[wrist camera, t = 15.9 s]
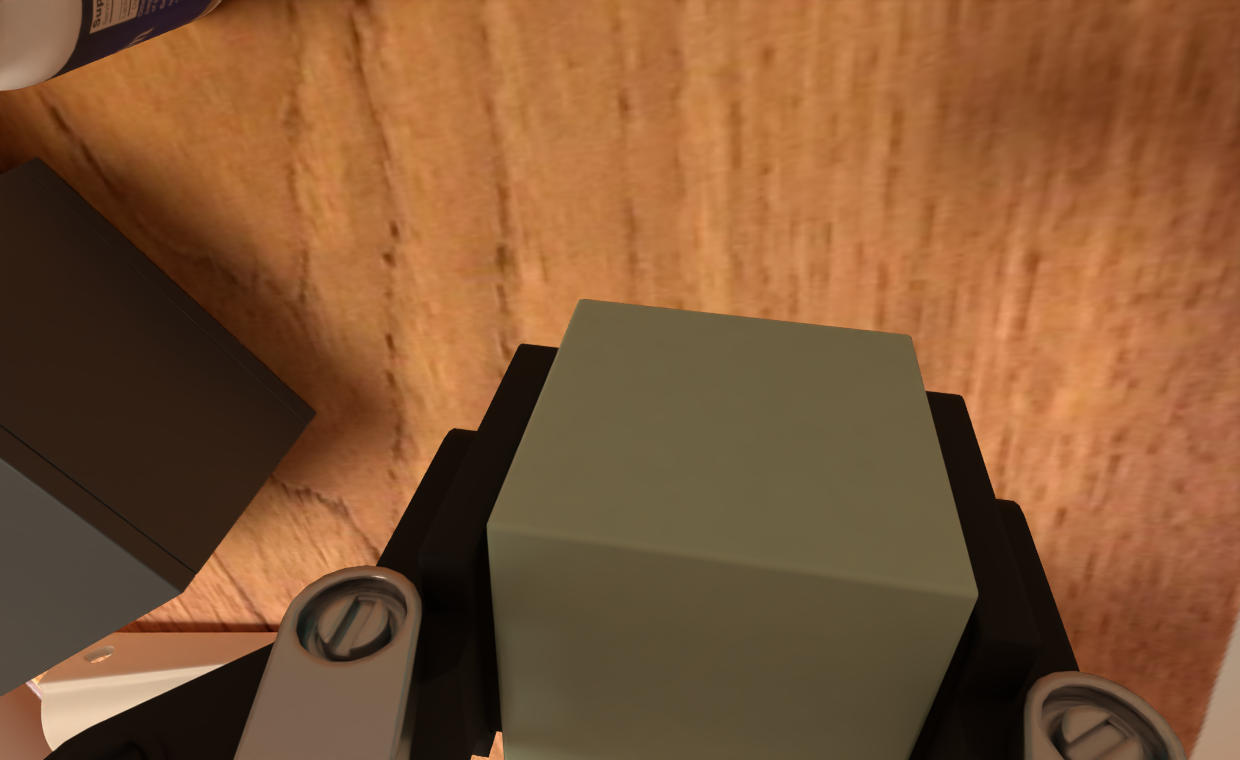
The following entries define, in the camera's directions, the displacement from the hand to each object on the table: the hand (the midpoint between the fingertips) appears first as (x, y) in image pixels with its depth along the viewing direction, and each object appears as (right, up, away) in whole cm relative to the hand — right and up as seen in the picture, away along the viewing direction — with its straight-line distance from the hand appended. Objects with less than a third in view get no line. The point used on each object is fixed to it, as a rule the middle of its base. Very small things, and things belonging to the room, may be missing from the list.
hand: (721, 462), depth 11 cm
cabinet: (-22, +2, +22) cm, 31 cm away
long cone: (-19, -13, +32) cm, 40 cm away
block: (0, 0, 0) cm, 0 cm away
